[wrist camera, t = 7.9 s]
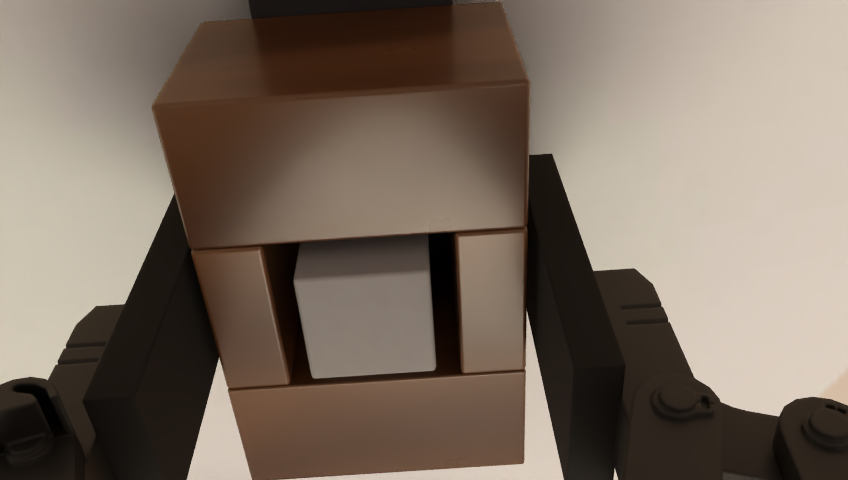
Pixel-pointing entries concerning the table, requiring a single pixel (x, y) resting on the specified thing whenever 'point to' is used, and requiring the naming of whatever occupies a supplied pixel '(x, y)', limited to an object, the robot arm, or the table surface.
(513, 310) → the brown wooden frame
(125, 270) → the table surface
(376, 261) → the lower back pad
